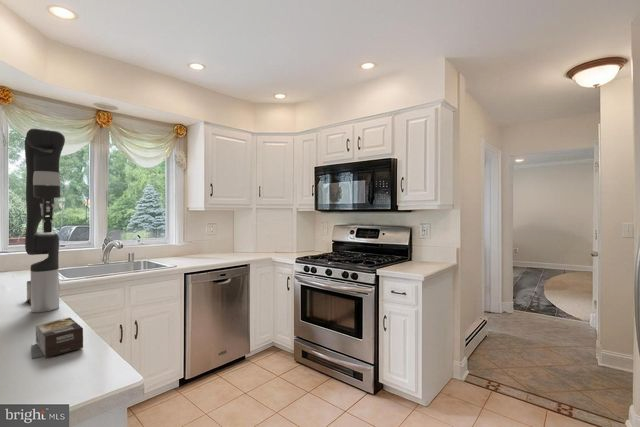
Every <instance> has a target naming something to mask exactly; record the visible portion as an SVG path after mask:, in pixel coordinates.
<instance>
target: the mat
mask: <svg viewBox="0 0 640 427" xmlns="http://www.w3.org/2000/svg"><path fill="white" fill-rule="evenodd" d="M43 357H45V355H44V354H43V352H42V350H41V349H40V347H39V346H38V344H37V343H33V344H31V360H35V359H39V358H43Z"/></svg>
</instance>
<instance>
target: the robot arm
mask: <svg viewBox="0 0 640 427" xmlns="http://www.w3.org/2000/svg"><path fill="white" fill-rule="evenodd" d="M65 143H66V138H65V135H64V134H63V133H62V132H61V131H58V130H52V129H43V128H30V129H29V130H28V131H27V133H26V135H25V138H24V154H25V155H24V156H25V168H26V169H25V172H26V183H25V204H26V206H25V207H26V225H25V227H26V228H25V236H24V237H25V239H24V247H25V253H26V254H27V255H28V256H35V255H48V256H47V257H46V258H45V259H42V260H40V261H37V262H33V263H32V264H31V265H30V281H31V303H30V310H31V313H44V312H50V311H54V310H57V309H59V308H60V279H59V278H60V277H59V276H60V273H59V269H60V268H59V259H60V258H59V255H60V254H59V253H60V252H59V250H60V238H59V235H58V233H56V232H52V231H53V225H52V224H53V223H52V222H53V221H54V218H53V217H54V215H55V207H56V206H55V199H60V198H61V176H60V159H61V155H62V150H63V148H64V146H65ZM41 221H42V223H43V232H38V228H39V225H40V223H41Z"/></svg>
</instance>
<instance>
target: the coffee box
mask: <svg viewBox="0 0 640 427" xmlns="http://www.w3.org/2000/svg"><path fill="white" fill-rule="evenodd" d="M35 344H38V346H39V347H40V349H41V350H42V352H43V354H44V355H45V356H44V357H45V358H51V357H56V356H58V355H62V354H65V353H69V352H72V351H77V350H80V349H83V348H84V328H83V327H82V326H81V325H80V324H79V323H78V322H76V321H75V320H74V319H73V318H71V317H65V318H60V319H55V320H50V321H46V322H45V321H44V322H40V323H36V324H35Z"/></svg>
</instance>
